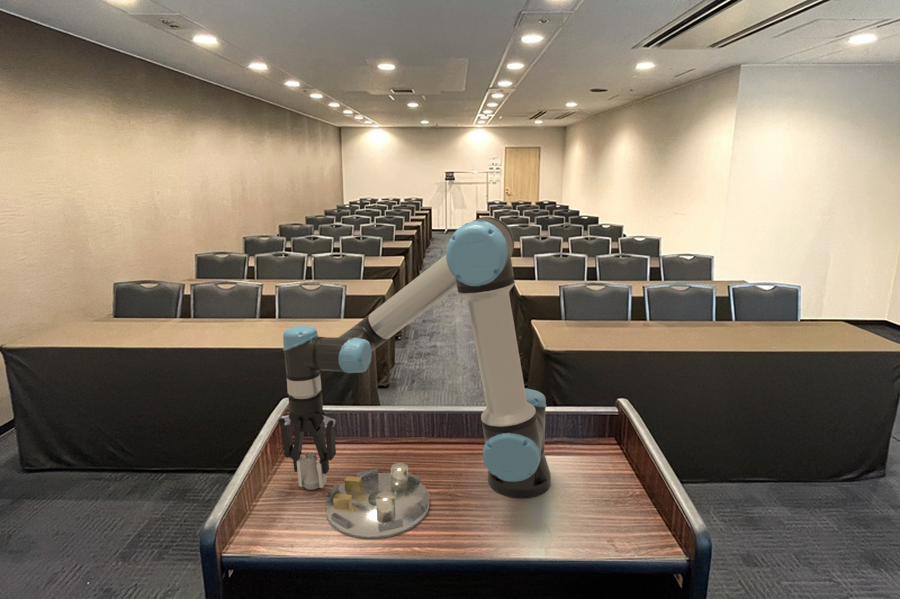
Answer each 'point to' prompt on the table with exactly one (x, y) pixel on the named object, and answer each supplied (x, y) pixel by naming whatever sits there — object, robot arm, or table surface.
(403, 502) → the carrier plate
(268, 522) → the table surface
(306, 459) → the rook chess piece
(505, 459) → the robot arm
